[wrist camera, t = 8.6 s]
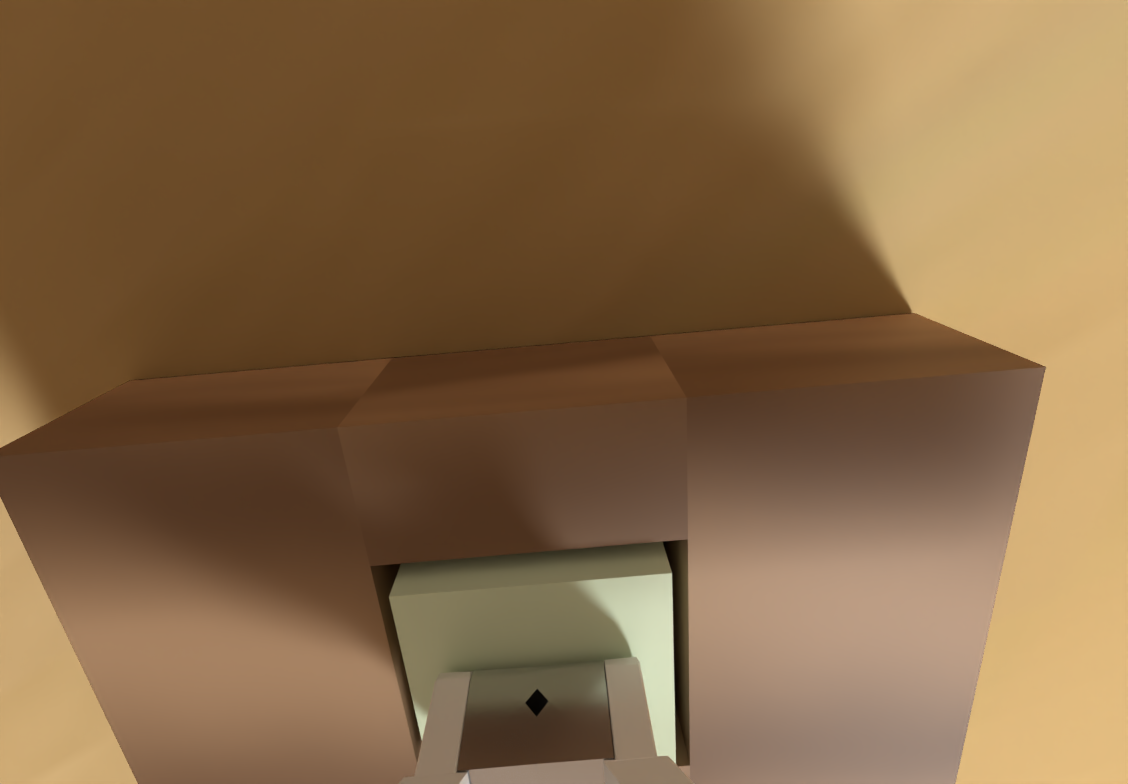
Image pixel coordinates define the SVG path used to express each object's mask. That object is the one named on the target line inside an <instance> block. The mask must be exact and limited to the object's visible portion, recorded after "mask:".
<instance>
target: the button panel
mask: <svg viewBox="0 0 1128 784" xmlns="http://www.w3.org/2000/svg"><path fill="white" fill-rule="evenodd" d="M1045 368H1046V367H1045V366H1042V365H1040V364H1037V363H1035V362H1032V361H1030V360H1028V359H1025V358H1023V357H1020V356H1018V355H1015V354H1013V353H1010V352H1008V351H1006V350H1003V349H1001V348H998V347H996V346H993V345H991V344H989V343H986V342H984V341H981V340H979V339H976V338H974V337H971V336H969V335H967V334H964V333H962V332H959V331H957V330H954V329H952V328H949V327H947V326H945V325H942V324H940V323H937V322H935V321H932V320H930V319H927V318H925V317H923V316H920V315H918V314H915V313H911V314H899V315H888V316H876V317H864V318H853V319H841V320H829V321H818V322H806V323H794V324H783V325H771V326H760V327H748V328H736V329H725V330H713V331H701V332H690V333H678V334H666V335H655V336H643V337H631V338H620V339H608V340H597V341H585V342H573V343H562V344H550V345H538V346H527V347H515V348H503V349H492V350H480V351H469V352H457V353H445V354H434V355H422V356H410V357H399V358H387V359H375V360H364V361H352V362H341V363H329V364H317V365H306V366H294V367H282V368H271V369H259V370H247V371H236V372H224V373H213V374H201V375H189V376H178V377H166V378H154V379H143V380H131V381H128V382H126V383H124V384H122V385H120V386H118V387H116V388H115V389H113V390H111V391H109V392H107V393H105V394H103V395H101V396H99V397H97V398H95V399H94V400H92V401H90V402H88V403H86V404H84V405H82V406H80V407H78V408H76V409H74V410H72V411H71V412H69V413H67V414H65V415H63V416H61V417H59V418H57V419H55V420H53V421H51V422H49V423H48V424H46V425H44V426H42V427H40V428H38V429H36V430H34V431H32V432H30V433H28V434H26V435H25V436H23V437H21V438H19V439H17V440H15V441H13V442H11V443H9V444H7V445H5V446H3V447H2V448H0V497H1V499H2V501H3V503H4V505H5V507H6V510H7V512H8V514H9V516H10V518H11V520H12V522H13V524H14V526H15V528H16V530H17V532H18V535H19V537H20V539H21V541H22V543H23V545H24V547H25V549H26V551H27V553H28V555H29V557H30V560H31V562H32V564H33V566H34V568H35V570H36V572H37V574H38V576H39V578H40V580H41V582H42V585H43V587H44V589H45V591H46V593H47V595H48V597H49V599H50V601H51V603H52V605H53V607H54V610H55V612H56V614H57V616H58V618H59V620H60V622H61V624H62V626H63V628H64V630H65V633H66V635H67V637H68V639H69V641H70V643H71V645H72V647H73V649H74V651H75V653H76V655H77V658H78V660H79V662H80V664H81V666H82V668H83V670H84V672H85V674H86V676H87V678H88V680H89V683H90V685H91V687H92V689H93V691H94V693H95V695H96V697H97V699H98V701H99V703H100V705H101V708H102V710H103V712H104V714H105V716H106V718H107V720H108V722H109V724H110V726H111V728H112V730H113V733H114V735H115V737H116V739H117V741H118V743H119V745H120V747H121V749H122V751H123V753H124V755H125V758H126V760H127V762H128V764H129V766H130V768H131V770H132V772H133V774H134V776H135V778H136V780H137V783H138V784H398V783H399V782H400V781H401V780H402V779H403V778H404V777H412V776H414V775H415V771H416V766H417V762H418V757H419V753H420V748H421V743H422V739H421V735H420V731H419V726H418V722H417V718H416V713H415V709H414V705H413V700H412V696H411V691H410V687H409V683H408V678H407V674H406V670H405V665H404V661H403V657H402V652H401V648H400V643H399V639H398V635H397V630H396V626H395V622H394V617H393V613H392V609H391V604H390V600H389V595H390V592H391V590H392V587H393V584H394V581H395V579H396V576H397V573H398V570H399V568H400V565H401V563H413V562H425V561H437V560H449V559H461V558H472V557H484V556H496V555H508V554H520V553H532V552H543V551H555V550H567V549H579V548H591V547H603V546H615V545H626V544H638V543H650V542H663V545H664V548H665V552H666V555H667V558H668V561H669V565H670V568H671V571H672V595H673V644H674V692H675V741H676V765H677V766H678V767H679V768H680V769H681V770H682V771H683V772H684V773H685V774H686V775H687V777H688V778H689V779H690V780H691V781H692V782H693V783H694V784H955V782H956V778H957V773H958V769H959V764H960V759H961V755H962V750H963V746H964V741H965V736H966V732H967V727H968V723H969V718H970V713H971V709H972V704H973V700H974V695H975V690H976V686H977V681H978V677H979V672H980V667H981V663H982V658H983V654H984V649H985V644H986V640H987V635H988V631H989V626H990V621H991V617H992V612H993V608H994V603H995V598H996V594H997V589H998V584H999V580H1000V575H1001V571H1002V566H1003V561H1004V557H1005V552H1006V548H1007V543H1008V538H1009V534H1010V529H1011V525H1012V520H1013V515H1014V511H1015V506H1016V502H1017V497H1018V492H1019V488H1020V483H1021V479H1022V474H1023V469H1024V465H1025V460H1026V456H1027V451H1028V446H1029V442H1030V437H1031V433H1032V428H1033V423H1034V419H1035V414H1036V410H1037V405H1038V400H1039V396H1040V391H1041V387H1042V382H1043V377H1044V373H1045Z"/></svg>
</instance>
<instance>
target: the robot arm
mask: <svg viewBox="0 0 1128 784" xmlns="http://www.w3.org/2000/svg"><path fill="white" fill-rule="evenodd" d="M398 784H694V783H693V782H692V781H691V780H690V779H689V778H688V777H687V775H686V774H685V773H684V772H683V771H682V770H681V769H680V768H679V767H678V766H677V765H676V764H675V763H674V761H673V760H672V759H671V758H670V757H669V756H657V752H656V746H655V741H654V736H653V730H652V725H651V720H650V714H649V709H648V704H647V698H646V693H645V688H644V682H643V677H642V672H641V666H640V662H639V660H638V659H637V657H629V658H618V659H608V660H604V663H603V660H597V661H587V662H576V663H566V664H555V665H544V666H539V667H524V668H506V669H489V670H473V671H467V672H448V673H440V674H439V676H438V677H437V679H436V681H435V684H434V688H433V693H432V698H431V702H430V707H429V711H428V716H427V720H426V725H425V730H424V734H423V739H422V743H421V748H420V753H419V757H418V762H417V766H416V771H415V775H414V776H412V777H404V778H403V779H402V780H401V781H400V782H399V783H398Z"/></svg>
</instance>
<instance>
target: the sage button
mask: <svg viewBox="0 0 1128 784" xmlns="http://www.w3.org/2000/svg"><path fill="white" fill-rule="evenodd" d="M389 600H390V604H391V609H392V613H393V617H394V622H395V626H396V630H397V635H398V639H399V643H400V648H401V652H402V657H403V661H404V665H405V670H406V674H407V678H408V683H409V687H410V691H411V696H412V700H413V705H414V709H415V713H416V718H417V722H418V726H419V731H420V735H421V739H423V734H424V730H425V725H426V720H427V716H428V711H429V707H430V702H431V698H432V693H433V688H434V684H435V681H436V679H437V677H438V676H439V674H440V673H448V672H467V671H473V670H489V669H506V668H524V667H539V666H544V665H555V664H566V663H576V662H587V661H597V660H603V663H604V660H608V659H618V658H629V657H637V659H638V660H639V662H640V666H641V672H642V677H643V682H644V688H645V693H646V698H647V704H648V709H649V714H650V720H651V725H652V730H653V736H654V741H655V746H656V752H657V756H669V757H670V758H671V759H672V760H673V761H674V763H675V764H676V741H675V692H674V644H673V595H672V571H671V568H670V565H669V561H668V558H667V555H666V552H665V548H664V545H663V542H650V543H638V544H626V545H615V546H603V547H591V548H579V549H567V550H555V551H543V552H532V553H520V554H508V555H496V556H484V557H472V558H461V559H449V560H437V561H425V562H413V563H401V565H400V568H399V570H398V573H397V576H396V579H395V581H394V584H393V587H392V590H391V592H390V595H389Z"/></svg>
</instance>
